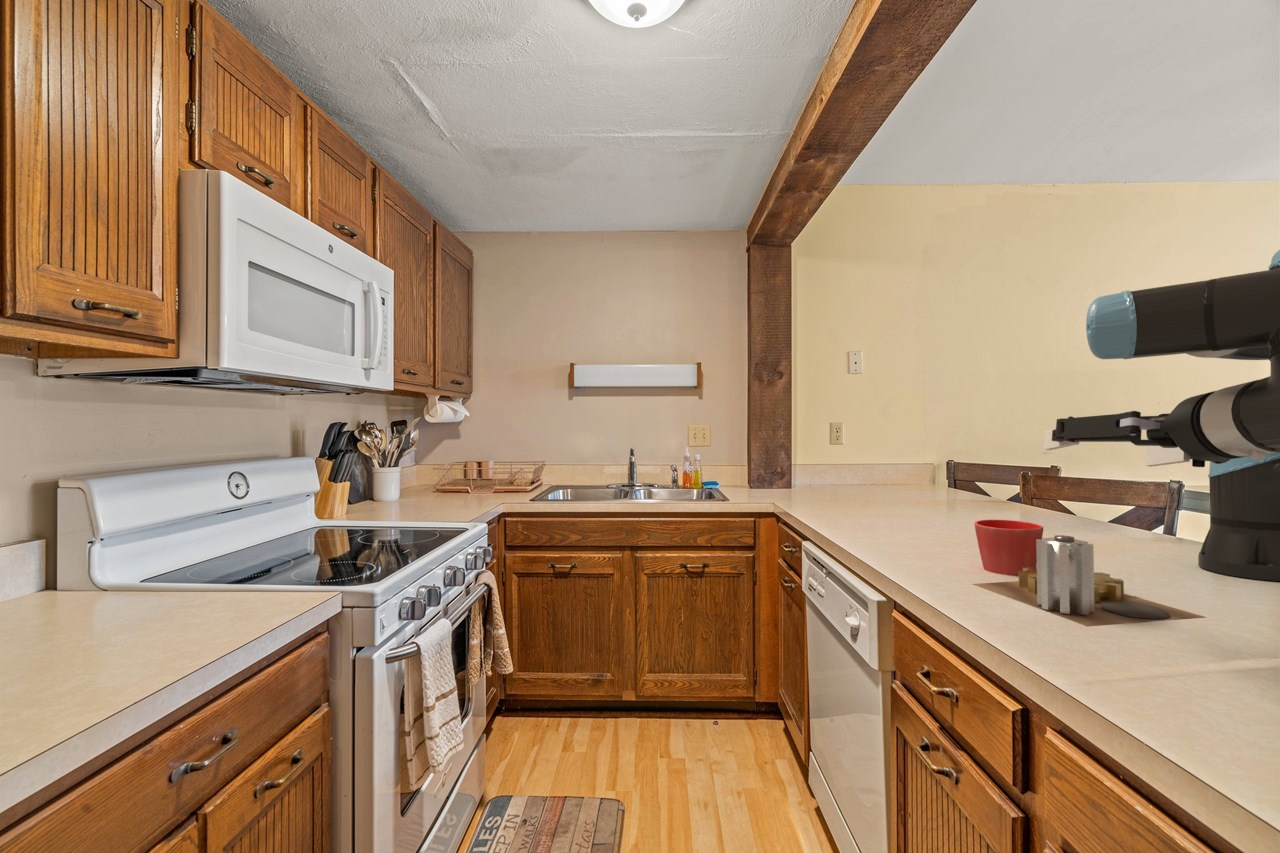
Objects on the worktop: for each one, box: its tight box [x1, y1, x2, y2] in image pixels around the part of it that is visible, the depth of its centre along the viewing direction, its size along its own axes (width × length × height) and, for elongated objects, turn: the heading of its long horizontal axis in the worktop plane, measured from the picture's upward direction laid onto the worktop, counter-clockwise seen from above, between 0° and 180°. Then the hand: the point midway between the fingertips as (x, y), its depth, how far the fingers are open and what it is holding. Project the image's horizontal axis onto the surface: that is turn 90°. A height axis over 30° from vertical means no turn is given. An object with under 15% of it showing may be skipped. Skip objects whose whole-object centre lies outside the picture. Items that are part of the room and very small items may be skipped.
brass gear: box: [1017, 567, 1125, 604], centre depth 97 cm, size 14×14×4 cm
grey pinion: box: [1036, 534, 1095, 615], centre depth 88 cm, size 7×7×11 cm
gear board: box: [972, 580, 1206, 627], centre depth 93 cm, size 19×22×1 cm
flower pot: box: [974, 519, 1044, 577], centre depth 111 cm, size 11×11×10 cm
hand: (1097, 448), depth 85 cm, fingers open, 13 cm apart
